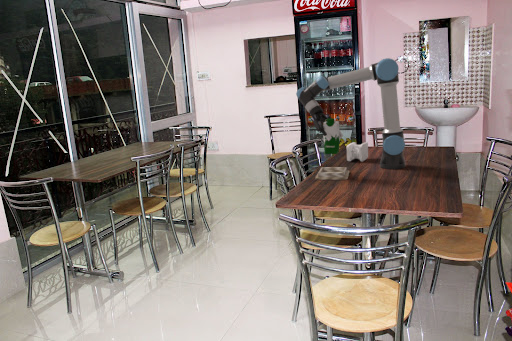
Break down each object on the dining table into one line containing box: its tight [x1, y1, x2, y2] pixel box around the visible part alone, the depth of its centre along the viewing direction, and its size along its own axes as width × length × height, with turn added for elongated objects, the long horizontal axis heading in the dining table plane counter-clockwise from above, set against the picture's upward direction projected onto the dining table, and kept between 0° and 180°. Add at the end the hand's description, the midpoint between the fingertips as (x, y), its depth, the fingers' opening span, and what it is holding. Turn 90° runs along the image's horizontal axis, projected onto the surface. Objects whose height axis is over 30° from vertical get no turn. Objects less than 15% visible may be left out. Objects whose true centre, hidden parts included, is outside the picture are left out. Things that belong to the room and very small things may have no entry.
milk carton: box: [322, 117, 341, 155], centre depth 247 cm, size 9×9×20 cm
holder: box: [314, 166, 350, 181], centre depth 252 cm, size 18×18×4 cm
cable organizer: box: [346, 141, 369, 163], centre depth 290 cm, size 15×11×12 cm
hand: (335, 138), depth 245 cm, fingers closed on milk carton, 9 cm apart
